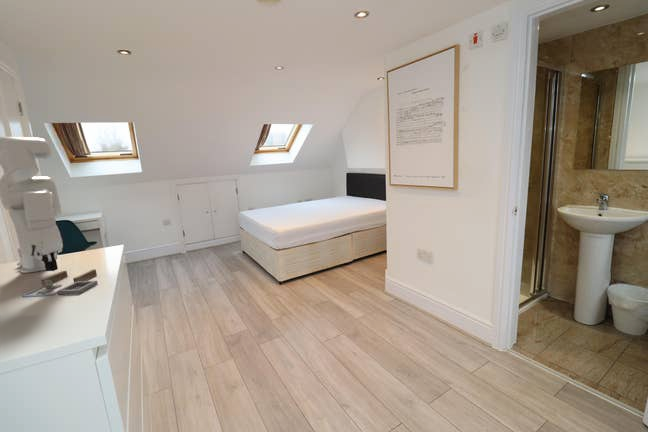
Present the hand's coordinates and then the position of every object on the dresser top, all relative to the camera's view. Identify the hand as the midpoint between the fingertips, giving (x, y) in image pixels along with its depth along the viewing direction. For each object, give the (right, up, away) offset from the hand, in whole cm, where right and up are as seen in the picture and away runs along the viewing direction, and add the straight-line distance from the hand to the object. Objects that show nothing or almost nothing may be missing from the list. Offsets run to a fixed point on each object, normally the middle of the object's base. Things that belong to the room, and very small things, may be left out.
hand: (52, 270), depth 116 cm
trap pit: (+12, -7, -3) cm, 14 cm away
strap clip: (+1, -8, -2) cm, 8 cm away
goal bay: (+1, -7, -2) cm, 8 cm away
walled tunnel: (+1, -5, +8) cm, 9 cm away
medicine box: (-41, -3, +35) cm, 54 cm away
